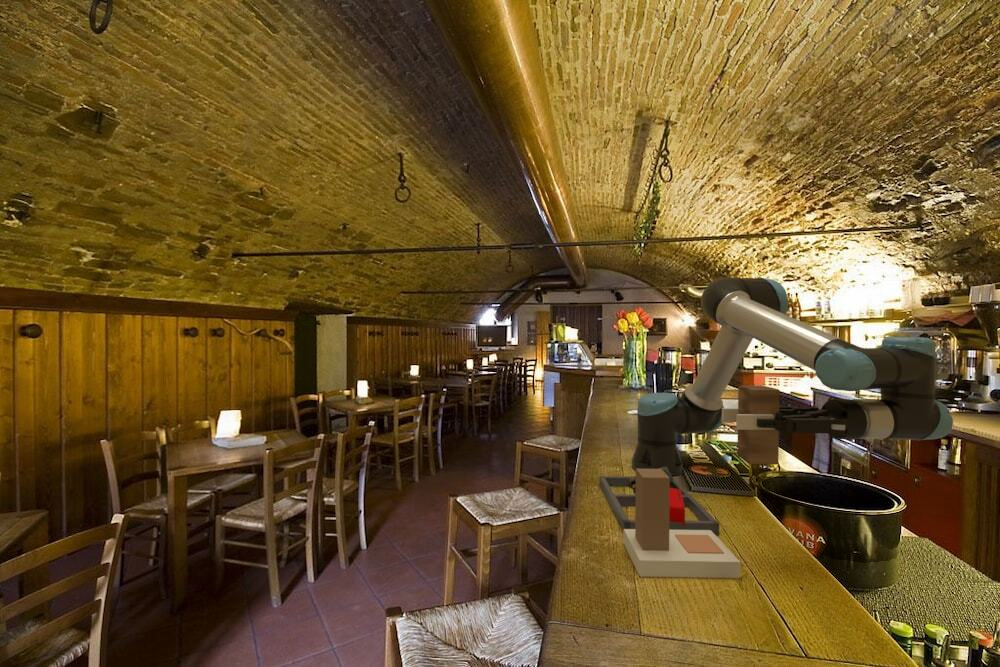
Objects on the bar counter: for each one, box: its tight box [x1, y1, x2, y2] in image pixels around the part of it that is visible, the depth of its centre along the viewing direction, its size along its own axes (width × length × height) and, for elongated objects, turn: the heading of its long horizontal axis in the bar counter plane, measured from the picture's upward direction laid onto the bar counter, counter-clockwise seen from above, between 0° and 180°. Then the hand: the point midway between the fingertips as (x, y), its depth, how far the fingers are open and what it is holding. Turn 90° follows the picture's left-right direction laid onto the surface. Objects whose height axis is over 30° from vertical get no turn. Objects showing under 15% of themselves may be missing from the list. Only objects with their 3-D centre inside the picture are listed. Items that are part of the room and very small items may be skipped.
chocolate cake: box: [628, 466, 674, 495], centre depth 117 cm, size 10×7×12 cm
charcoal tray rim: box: [599, 475, 720, 536], centre depth 109 cm, size 29×20×2 cm
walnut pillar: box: [737, 385, 780, 465], centre depth 84 cm, size 5×5×14 cm
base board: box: [622, 469, 741, 579], centre depth 85 cm, size 12×18×17 cm, turn 88°
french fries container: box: [669, 488, 686, 528], centre depth 103 cm, size 7×9×14 cm
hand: (730, 418), depth 84 cm, fingers closed on walnut pillar, 5 cm apart
